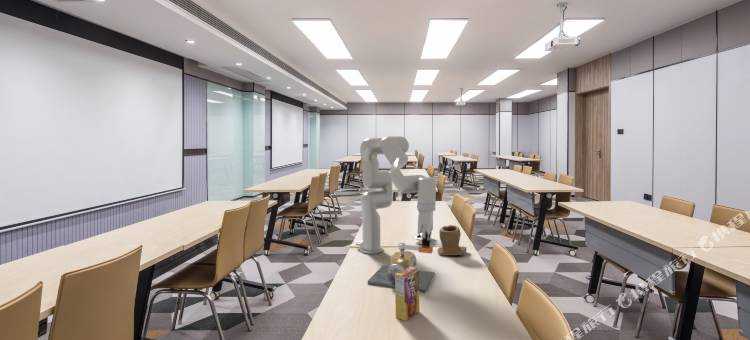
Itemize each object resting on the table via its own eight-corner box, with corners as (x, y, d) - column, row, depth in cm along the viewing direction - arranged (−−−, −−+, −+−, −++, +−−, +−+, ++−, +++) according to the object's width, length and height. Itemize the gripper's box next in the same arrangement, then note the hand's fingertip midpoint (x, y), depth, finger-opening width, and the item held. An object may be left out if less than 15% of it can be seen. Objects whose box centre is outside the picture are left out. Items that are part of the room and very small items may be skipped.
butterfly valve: (429, 245, 194) (435, 234, 210) (418, 211, 192) (424, 203, 208) (415, 248, 197) (422, 237, 213) (403, 215, 196) (411, 206, 212)
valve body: (367, 283, 144) (367, 253, 143) (382, 267, 162) (382, 240, 161) (425, 292, 136) (425, 260, 135) (434, 274, 154) (434, 246, 152)
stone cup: (438, 258, 175) (438, 228, 173) (437, 250, 187) (437, 222, 185) (469, 259, 173) (469, 229, 171) (466, 251, 185) (466, 223, 183)
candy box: (409, 307, 124) (409, 265, 123) (419, 311, 121) (420, 268, 120) (394, 317, 117) (394, 273, 116) (404, 321, 115) (405, 276, 113)
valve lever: (397, 249, 147) (397, 245, 146) (399, 247, 150) (399, 242, 150) (431, 253, 142) (431, 248, 141) (432, 251, 145) (432, 246, 145)
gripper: (421, 202, 156) (421, 243, 157) (413, 209, 142) (413, 253, 143) (438, 203, 153) (437, 244, 155) (431, 210, 139) (431, 255, 141)
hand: (425, 248), depth 149 cm, fingers closed
